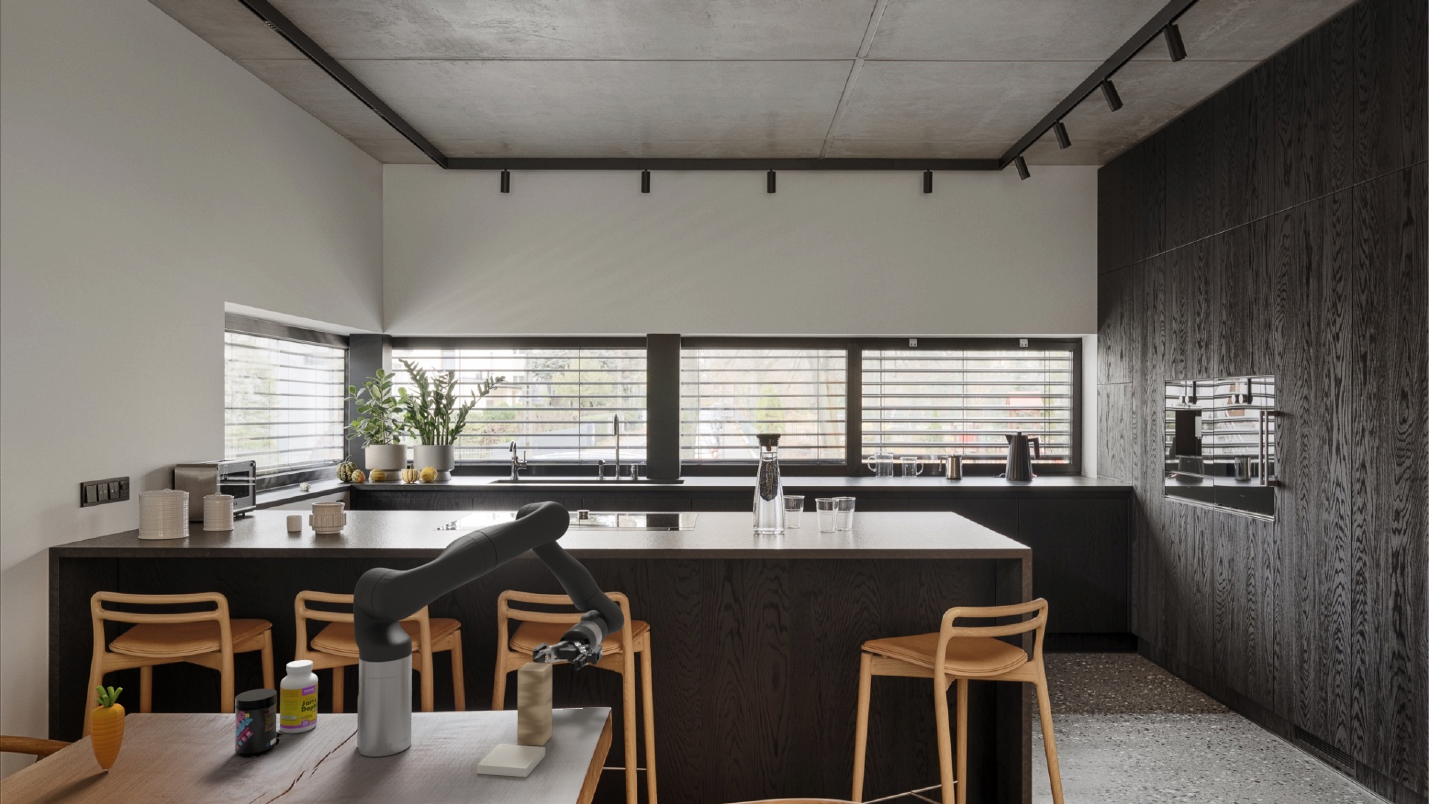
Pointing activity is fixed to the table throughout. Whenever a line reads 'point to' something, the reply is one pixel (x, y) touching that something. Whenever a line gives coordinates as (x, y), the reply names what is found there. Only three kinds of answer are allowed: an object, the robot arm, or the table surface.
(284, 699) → the supplement bottle
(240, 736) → the supplement container
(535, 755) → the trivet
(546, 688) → the oak block
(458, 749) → the table surface
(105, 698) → the carrot
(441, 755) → the table surface
